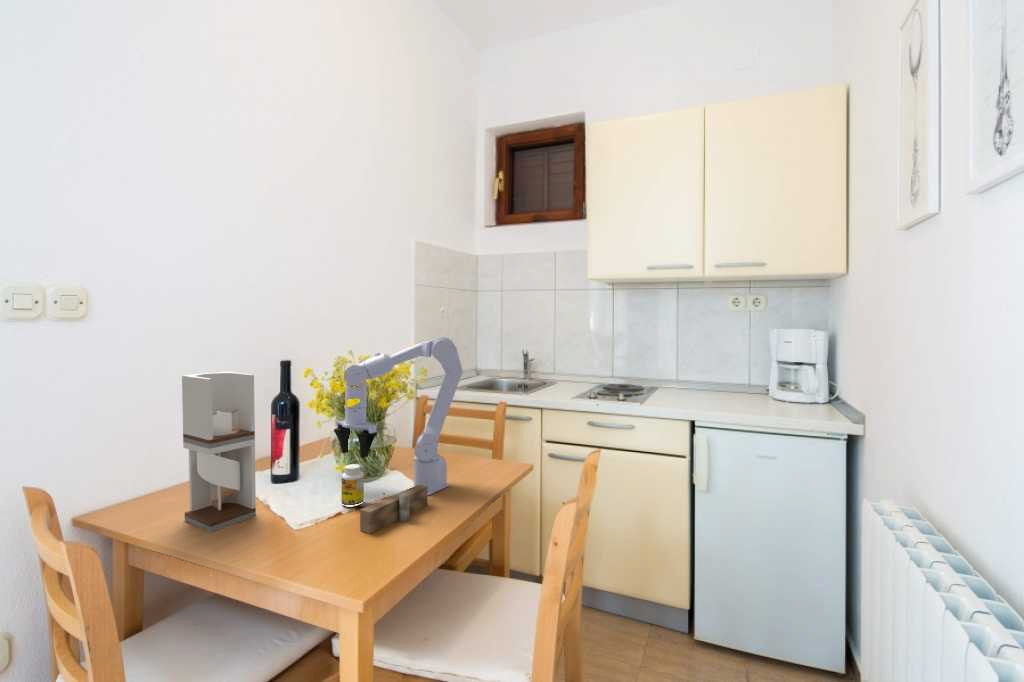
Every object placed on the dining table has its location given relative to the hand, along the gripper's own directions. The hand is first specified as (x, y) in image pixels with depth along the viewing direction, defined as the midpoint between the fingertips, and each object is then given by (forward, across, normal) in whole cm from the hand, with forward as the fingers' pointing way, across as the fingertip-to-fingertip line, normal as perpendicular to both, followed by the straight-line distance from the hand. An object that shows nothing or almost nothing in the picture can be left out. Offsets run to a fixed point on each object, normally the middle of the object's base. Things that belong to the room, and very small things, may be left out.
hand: (354, 454), depth 134 cm
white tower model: (+11, -13, -30) cm, 34 cm away
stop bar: (+10, +24, -7) cm, 27 cm away
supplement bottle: (+11, +7, -7) cm, 14 cm away
